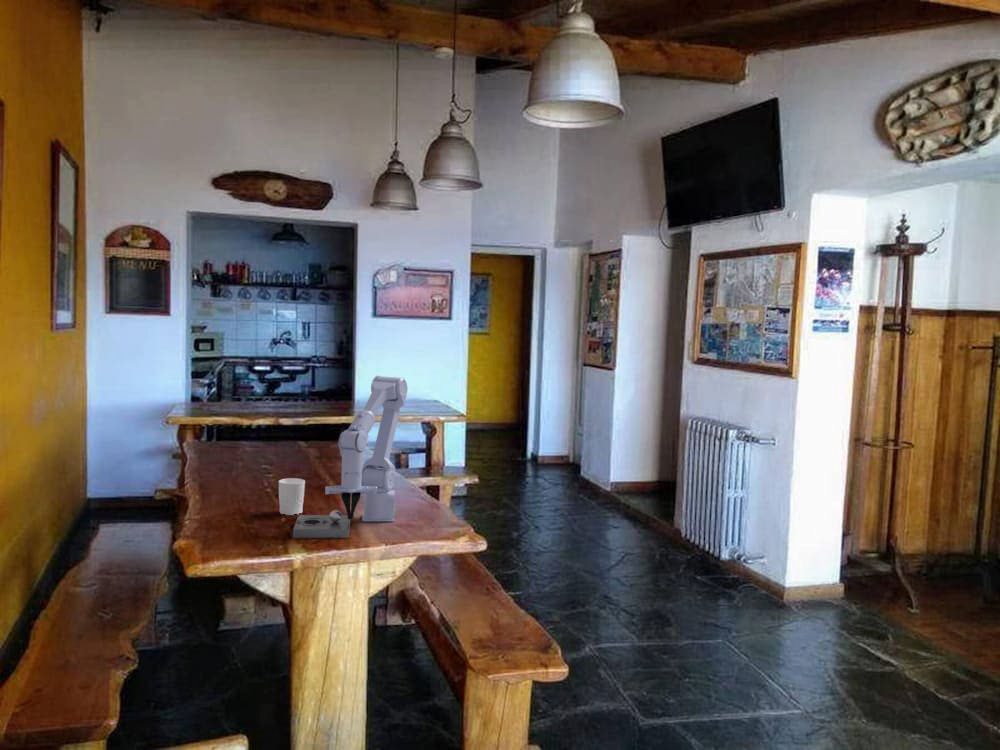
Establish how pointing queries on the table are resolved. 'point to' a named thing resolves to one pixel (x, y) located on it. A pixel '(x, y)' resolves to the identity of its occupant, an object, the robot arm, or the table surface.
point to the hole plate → (321, 527)
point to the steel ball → (335, 516)
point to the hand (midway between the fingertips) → (350, 518)
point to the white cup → (291, 495)
